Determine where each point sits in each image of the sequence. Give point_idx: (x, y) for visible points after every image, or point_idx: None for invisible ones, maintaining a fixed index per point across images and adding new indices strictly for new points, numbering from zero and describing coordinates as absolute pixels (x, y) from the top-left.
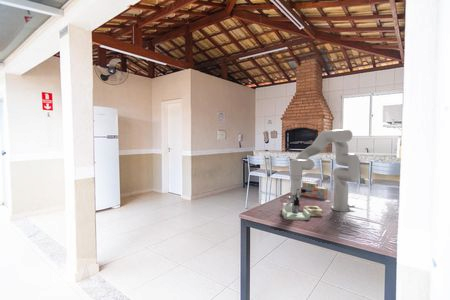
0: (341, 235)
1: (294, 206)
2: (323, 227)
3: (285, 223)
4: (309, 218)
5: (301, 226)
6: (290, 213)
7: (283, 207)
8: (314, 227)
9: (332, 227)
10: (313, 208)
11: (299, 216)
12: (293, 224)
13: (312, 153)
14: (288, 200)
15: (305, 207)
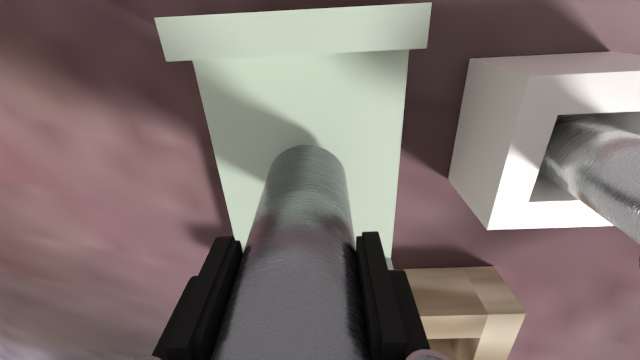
0: (21, 353)
1: (252, 228)
2: (111, 308)
3: (33, 2)
4: None
5: (40, 169)
6: (350, 126)
7: (596, 60)
8: (77, 259)
9: (139, 348)
10: (462, 356)
11: (256, 205)
12: (53, 101)
13: None
14: (632, 191)
15: (459, 316)
